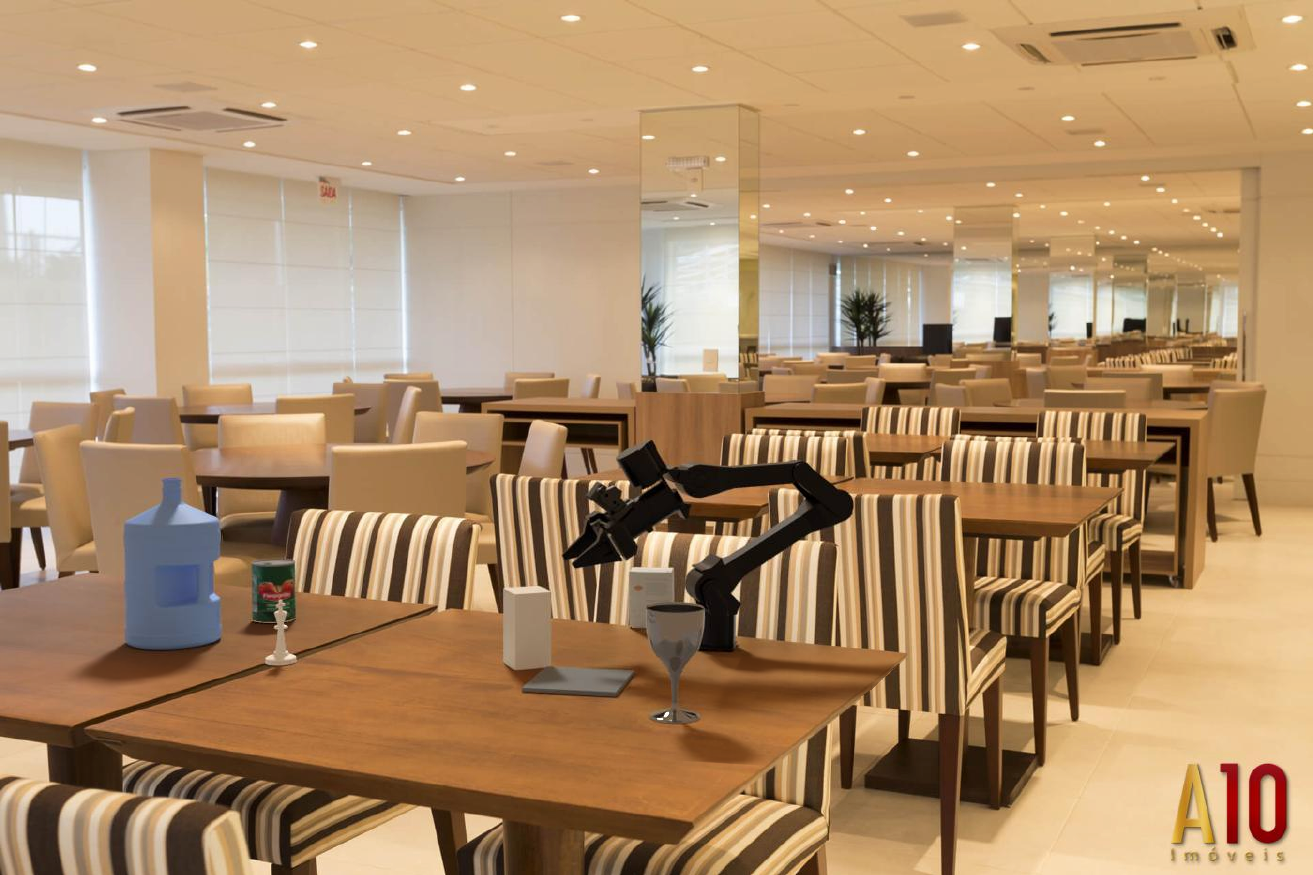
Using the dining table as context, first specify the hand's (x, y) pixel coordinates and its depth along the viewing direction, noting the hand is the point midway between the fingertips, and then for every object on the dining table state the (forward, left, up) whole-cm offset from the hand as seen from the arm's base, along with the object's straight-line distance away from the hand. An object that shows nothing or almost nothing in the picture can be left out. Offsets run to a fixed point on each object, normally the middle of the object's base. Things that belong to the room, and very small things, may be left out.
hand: (568, 561), depth 214 cm
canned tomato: (+61, -18, -16) cm, 65 cm away
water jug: (+69, +3, -16) cm, 70 cm away
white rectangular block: (+5, +8, -15) cm, 18 cm away
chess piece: (+44, +14, -16) cm, 49 cm away
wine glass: (-23, +34, -16) cm, 44 cm away
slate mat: (-6, +18, -15) cm, 25 cm away
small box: (-9, -27, -16) cm, 32 cm away
